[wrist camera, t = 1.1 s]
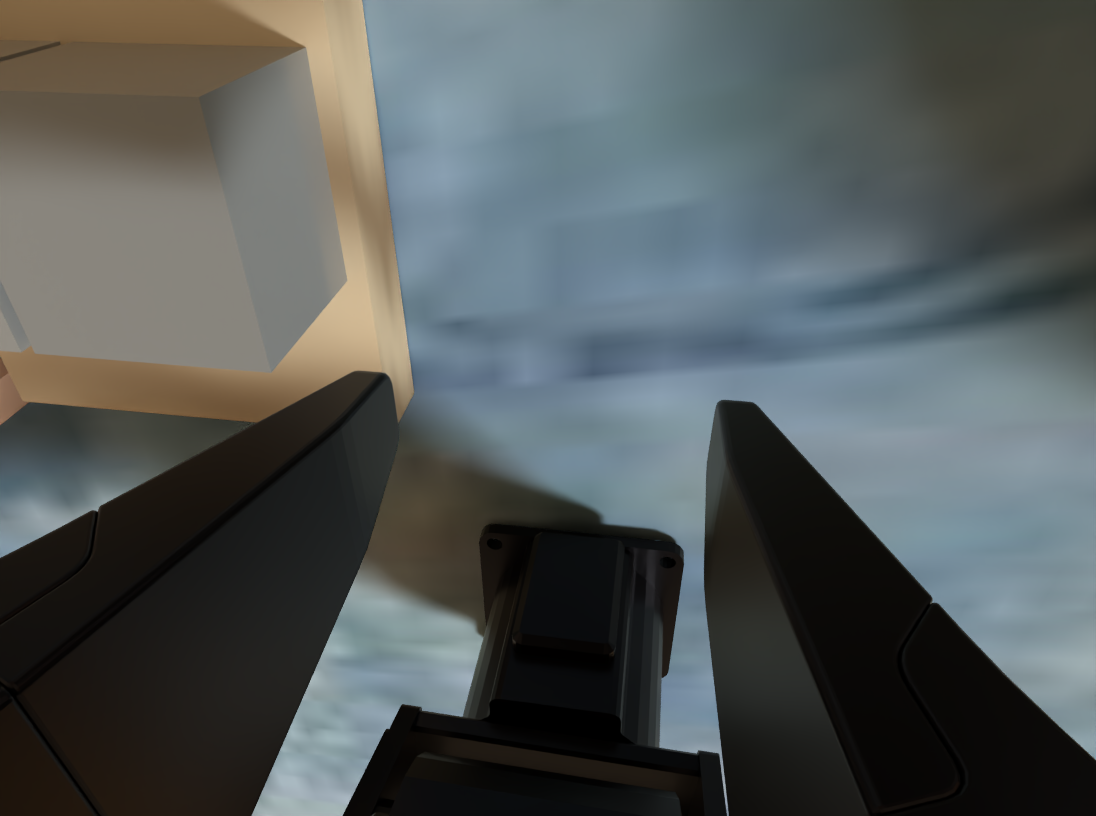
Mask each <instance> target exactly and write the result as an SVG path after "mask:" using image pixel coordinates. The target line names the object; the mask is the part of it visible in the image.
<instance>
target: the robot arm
mask: <svg viewBox="0 0 1096 816" xmlns="http://www.w3.org/2000/svg"><path fill="white" fill-rule="evenodd" d="M398 442H399V424H398V417H397V411H396V404H395V398H394V391H393V385H392V381H391V379H390V377H389V376H388V375H387V374H386V373H383V372H372V371H359V370H358V371H353V372H351V373H349V374H347V375H345V376H343V377H342V378H340V379H338V380H336V381H334V382H332V383H330V384H328V385H327V386H325V387H323V388H321V389H319V390H317V391H315V392H313V393H312V394H310V395H308V396H306V397H304V398H302V399H300V400H298V401H297V402H295V403H293V404H291V405H289V406H287V407H285V408H283V409H282V410H280V411H278V412H276V413H274V414H272V415H270V416H268V417H267V418H265V419H263V420H261V421H259V422H257V423H255V424H253V425H252V426H250V427H248V428H246V429H244V430H242V431H240V432H238V433H236V434H235V435H233V436H231V437H229V438H227V439H225V440H223V441H221V442H220V443H218V444H216V445H214V446H212V447H210V448H208V449H206V450H205V451H203V452H201V453H199V454H197V455H195V456H193V457H191V458H190V459H188V460H186V461H184V462H182V463H180V464H178V465H176V466H175V467H173V468H171V469H169V470H167V471H165V472H163V473H161V474H160V475H158V476H156V477H154V478H152V479H150V480H148V481H146V482H145V483H143V484H141V485H139V486H137V487H135V488H133V489H131V490H129V491H128V492H126V493H124V494H122V495H120V496H118V497H116V498H114V499H113V500H111V501H109V502H107V503H105V504H103V505H101V506H100V507H99V509H98V512H97V511H94V510H93V511H90V512H88V513H86V514H84V515H82V516H80V517H79V518H77V519H75V520H73V521H71V522H69V523H68V524H66V525H64V526H62V527H60V528H58V529H56V530H54V531H52V532H50V533H48V534H46V535H45V536H43V537H41V538H39V539H37V540H35V541H33V542H31V543H29V544H27V545H25V546H23V547H21V548H19V549H17V550H15V551H13V552H11V553H9V554H7V555H5V556H3V557H1V558H0V816H251V815H252V813H253V811H254V809H255V806H256V804H257V802H258V799H259V797H260V795H261V792H262V790H263V788H264V786H265V783H266V781H267V779H268V776H269V774H270V772H271V770H272V767H273V765H274V763H275V760H276V758H277V756H278V753H279V751H280V749H281V747H282V744H283V742H284V740H285V737H286V735H287V733H288V730H289V728H290V726H291V724H292V721H293V719H294V717H295V714H296V712H297V710H298V708H299V705H300V703H301V701H302V698H303V696H304V694H305V691H306V689H307V687H308V685H309V682H310V680H311V678H312V675H313V673H314V671H315V669H316V666H317V664H318V662H319V659H320V657H321V655H322V652H323V650H324V648H325V646H326V643H327V641H328V639H329V636H330V634H331V632H332V629H333V627H334V625H335V623H336V620H337V618H338V616H339V613H340V611H341V609H342V607H343V604H344V602H345V600H346V597H347V595H348V593H349V590H350V588H351V586H352V584H353V581H354V579H355V577H356V574H357V572H358V570H359V568H360V565H361V563H362V560H363V558H364V555H365V553H366V550H367V547H368V544H369V541H370V538H371V535H372V531H373V528H374V525H375V521H376V518H377V515H378V511H379V508H380V505H381V501H382V498H383V494H384V491H385V488H386V484H387V481H388V478H389V474H390V471H391V467H392V464H393V461H394V457H395V454H396V451H397V447H398ZM492 538H495V539H498V540H499V541H496V540H493V539H492ZM479 545H480V557H481V569H482V581H483V593H484V605H485V617H486V631H485V634H484V638H483V642H482V646H481V649H480V653H479V657H478V661H477V665H476V668H475V672H474V676H473V680H472V683H471V687H470V691H469V695H468V699H467V702H466V706H465V710H464V714H463V717H459V716H453V715H447V714H440V713H434V712H428V711H422V708H421V707H418V706H411V705H405V704H402V705H401V707H400V709H399V711H398V713H397V715H396V717H395V719H394V721H393V723H392V725H391V727H390V729H386V730H385V732H384V734H383V736H382V738H381V740H380V742H379V744H378V746H377V748H376V750H375V752H374V754H373V756H372V758H371V760H370V762H369V764H368V766H367V768H366V770H365V772H364V774H363V776H362V778H361V780H360V782H359V784H358V786H357V788H356V790H355V792H354V794H353V796H352V798H351V800H350V802H349V804H348V806H347V808H346V810H345V812H344V814H343V816H727V813H726V805H725V797H724V789H723V781H722V773H721V765H720V757H719V754H718V753H713V752H706V751H700V750H698V752H697V754H696V753H689V752H683V751H677V750H670V749H664V748H659V742H660V710H661V679H662V678H663V677H664V676H666V675H667V673H668V670H669V663H670V656H671V649H672V642H673V635H674V628H675V622H676V615H677V608H678V601H679V594H680V587H681V580H682V573H683V567H684V552H683V550H682V548H681V547H680V546H679V545H677V544H675V543H671V542H664V541H654V540H645V539H635V538H625V537H616V536H606V535H597V534H587V533H577V532H568V531H558V530H549V529H539V528H529V527H520V526H510V525H501V524H490V525H488V526H486V527H485V528H484V529H483V531H482V534H481V537H480V541H479ZM663 557H670V558H672V559H665V558H663ZM704 590H705V603H706V613H707V622H708V631H709V640H710V649H711V658H712V667H713V676H714V685H715V694H716V703H717V712H718V721H719V730H720V739H721V748H722V757H723V766H724V775H725V784H726V793H727V802H728V811H729V816H1096V760H1095V759H1094V758H1093V757H1092V756H1091V755H1090V754H1089V753H1088V752H1087V751H1086V750H1084V749H1083V748H1082V747H1081V746H1080V745H1079V744H1078V743H1077V742H1076V741H1075V740H1074V739H1072V738H1071V737H1070V736H1069V735H1068V734H1067V733H1066V732H1065V731H1064V730H1063V729H1062V728H1061V727H1059V726H1058V725H1057V724H1056V723H1055V722H1054V721H1053V720H1052V719H1051V718H1050V717H1049V716H1048V715H1047V714H1046V713H1045V712H1044V711H1043V710H1042V709H1041V708H1040V707H1039V706H1037V705H1036V704H1035V703H1034V702H1033V701H1032V700H1031V699H1030V698H1029V697H1028V696H1027V695H1026V694H1025V693H1024V692H1023V691H1022V690H1021V689H1020V688H1019V687H1018V686H1017V685H1016V684H1014V683H1013V682H1012V681H1011V680H1010V679H1009V678H1008V677H1007V676H1006V675H1005V674H1004V673H1003V672H1002V671H1001V670H1000V669H999V668H998V666H997V665H996V664H995V663H994V662H993V661H992V660H991V659H990V658H989V657H988V656H987V655H986V654H985V653H984V652H983V651H982V650H981V649H980V648H979V647H978V646H977V645H976V644H975V642H974V641H973V640H972V639H971V638H970V637H969V636H968V635H967V634H966V633H965V632H964V631H963V630H962V629H961V628H960V627H959V626H958V624H957V623H956V622H955V621H954V620H953V619H952V618H951V617H950V616H949V615H948V613H947V612H946V611H945V610H944V609H943V608H942V607H941V606H940V605H939V604H938V603H932V601H933V599H932V597H931V595H930V594H929V593H928V592H927V591H926V590H925V589H924V588H923V587H922V585H921V584H920V583H919V582H918V581H917V580H916V579H915V578H914V577H913V576H912V575H911V573H910V572H909V571H908V570H907V569H906V568H905V567H904V566H903V565H902V564H901V562H900V561H899V560H898V559H897V558H896V557H895V556H894V555H893V554H892V553H891V552H890V550H889V549H888V548H887V547H886V546H885V545H884V544H883V543H882V542H881V541H880V539H879V538H878V537H877V536H876V535H875V534H874V533H873V532H872V531H871V530H870V528H869V527H868V526H867V525H866V524H865V523H864V522H863V521H862V520H861V519H860V518H859V516H858V515H857V514H856V513H855V512H854V511H853V510H852V509H851V508H850V507H849V505H848V504H847V503H846V502H845V501H844V500H843V499H842V498H841V497H840V496H839V495H838V493H837V492H836V491H835V490H834V489H833V488H832V487H831V486H830V485H829V484H828V482H827V481H826V480H825V479H824V478H823V477H822V476H821V475H820V474H819V473H818V472H817V470H816V469H815V468H814V467H813V466H812V465H811V464H810V463H809V462H808V461H807V459H806V458H805V457H804V456H803V455H802V454H801V453H800V452H799V451H798V450H797V449H796V447H795V446H794V445H793V444H792V443H791V442H790V441H789V440H788V439H787V438H786V436H785V435H784V434H783V433H782V432H781V431H780V430H779V429H778V428H777V427H776V426H775V424H774V423H773V422H772V421H771V420H770V419H769V418H768V417H767V416H766V415H765V413H764V412H763V411H762V410H761V409H760V408H759V407H758V406H757V405H756V404H755V403H753V402H746V401H732V400H721V401H719V402H718V403H717V405H716V409H715V414H714V420H713V427H712V433H711V440H710V446H709V453H708V460H707V471H706V508H705V549H704Z"/></svg>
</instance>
